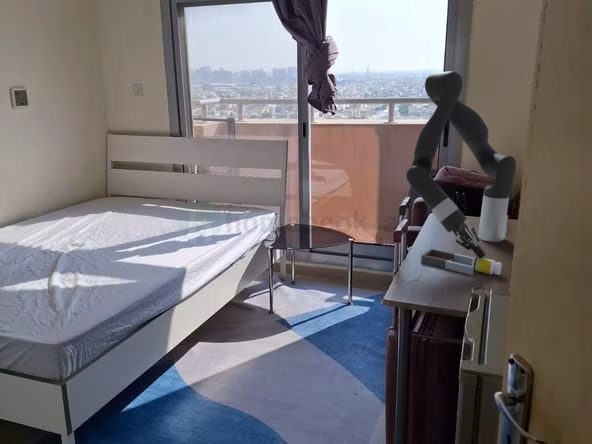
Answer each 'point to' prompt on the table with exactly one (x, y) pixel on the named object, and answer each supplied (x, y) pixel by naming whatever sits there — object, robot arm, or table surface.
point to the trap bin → (437, 257)
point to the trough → (459, 266)
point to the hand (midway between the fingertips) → (483, 256)
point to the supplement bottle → (486, 266)
